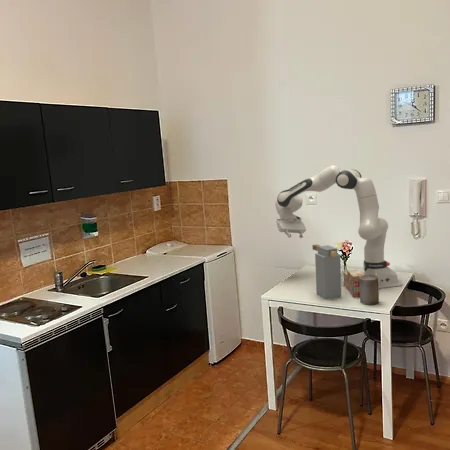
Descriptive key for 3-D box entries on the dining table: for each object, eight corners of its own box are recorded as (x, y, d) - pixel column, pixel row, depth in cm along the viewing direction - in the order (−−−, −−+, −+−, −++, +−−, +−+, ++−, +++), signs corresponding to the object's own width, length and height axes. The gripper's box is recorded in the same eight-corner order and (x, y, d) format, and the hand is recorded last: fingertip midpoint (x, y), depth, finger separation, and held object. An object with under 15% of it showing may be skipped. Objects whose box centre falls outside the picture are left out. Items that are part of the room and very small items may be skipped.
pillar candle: (379, 299, 242) (378, 272, 240) (378, 305, 233) (377, 277, 231) (360, 298, 246) (359, 272, 243) (359, 304, 237) (358, 277, 234)
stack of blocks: (343, 286, 269) (342, 266, 267) (353, 285, 269) (353, 265, 267) (353, 297, 248) (352, 276, 246) (364, 296, 248) (364, 275, 246)
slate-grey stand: (316, 294, 257) (314, 247, 252) (332, 291, 260) (330, 244, 255) (325, 299, 247) (323, 250, 243) (341, 296, 250) (340, 248, 246)
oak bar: (312, 249, 263) (312, 244, 263) (316, 248, 264) (316, 244, 264) (331, 256, 243) (331, 252, 242) (336, 256, 243) (336, 251, 243)
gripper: (277, 215, 283) (285, 233, 276) (302, 217, 294) (310, 235, 286) (272, 221, 287) (280, 239, 280) (297, 223, 298) (305, 240, 290)
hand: (295, 237), depth 283 cm, fingers open, 8 cm apart
